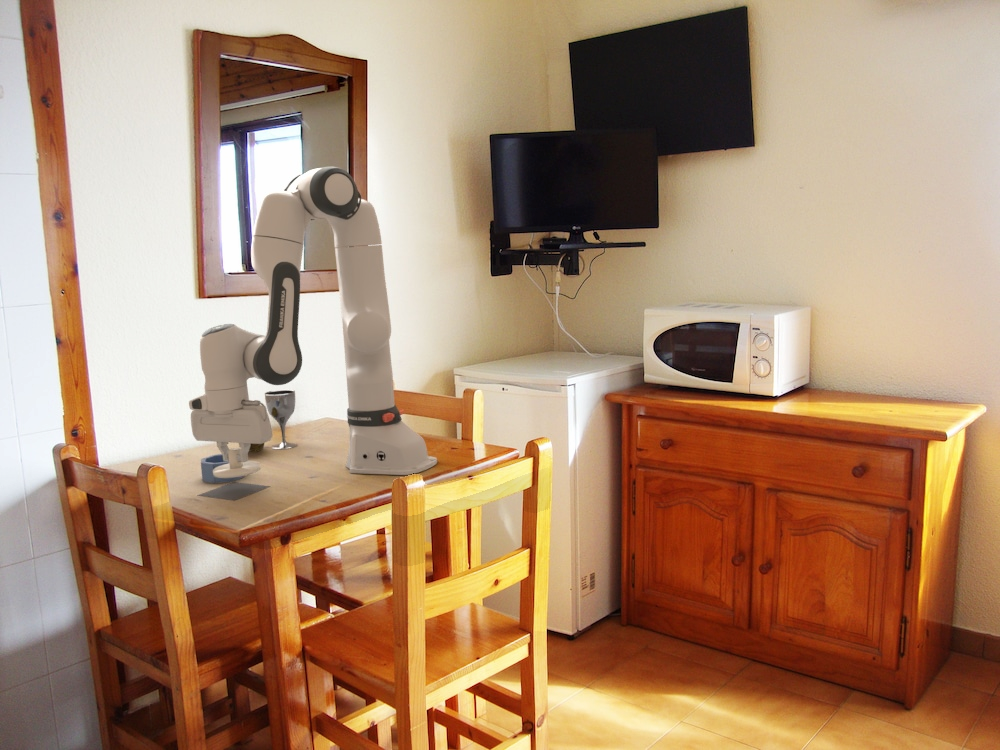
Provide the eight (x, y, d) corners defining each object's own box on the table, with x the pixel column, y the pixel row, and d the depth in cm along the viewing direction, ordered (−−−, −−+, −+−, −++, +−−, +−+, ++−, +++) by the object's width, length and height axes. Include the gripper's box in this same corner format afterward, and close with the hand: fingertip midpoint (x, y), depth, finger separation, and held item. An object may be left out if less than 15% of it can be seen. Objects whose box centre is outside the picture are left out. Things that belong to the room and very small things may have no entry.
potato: (273, 445, 229) (271, 417, 228) (262, 457, 216) (259, 427, 215) (243, 447, 229) (240, 418, 228) (229, 458, 216) (227, 428, 215)
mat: (270, 488, 187) (270, 486, 187) (234, 502, 177) (234, 500, 177) (234, 483, 192) (233, 481, 192) (197, 497, 182) (197, 495, 182)
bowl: (254, 475, 198) (252, 455, 198) (224, 486, 190) (222, 465, 189) (224, 472, 203) (222, 452, 202) (194, 482, 194) (191, 461, 194)
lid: (269, 466, 186) (267, 444, 185) (238, 479, 177) (235, 456, 176) (235, 464, 190) (232, 443, 190) (203, 476, 181) (200, 454, 181)
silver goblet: (263, 448, 226) (258, 394, 223) (281, 442, 233) (276, 389, 231) (287, 450, 223) (283, 395, 220) (305, 443, 230) (300, 389, 228)
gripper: (274, 397, 179) (282, 459, 182) (204, 396, 188) (212, 455, 191) (254, 403, 174) (262, 467, 176) (182, 401, 183) (191, 462, 185)
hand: (235, 461), depth 183 cm, fingers closed on lid, 3 cm apart
